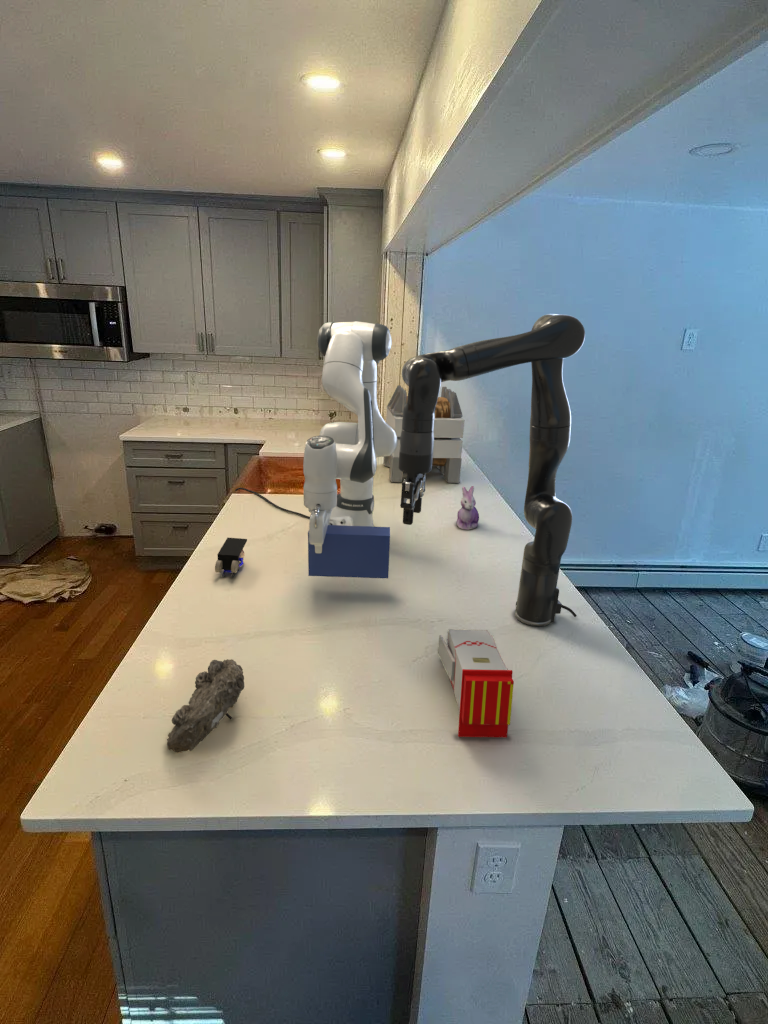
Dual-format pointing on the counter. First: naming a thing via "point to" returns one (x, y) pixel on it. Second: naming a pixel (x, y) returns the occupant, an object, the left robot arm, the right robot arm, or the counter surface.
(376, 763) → the counter surface
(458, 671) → the toy
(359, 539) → the box
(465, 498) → the figurine
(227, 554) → the figurine character
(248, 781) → the counter surface
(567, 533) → the right robot arm
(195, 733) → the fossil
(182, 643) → the counter surface
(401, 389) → the grey boxy piece
